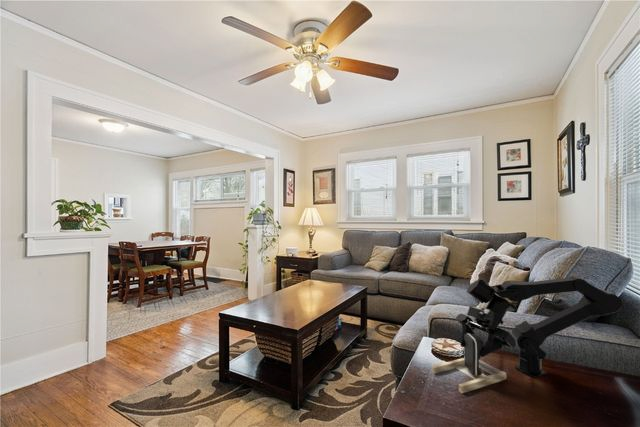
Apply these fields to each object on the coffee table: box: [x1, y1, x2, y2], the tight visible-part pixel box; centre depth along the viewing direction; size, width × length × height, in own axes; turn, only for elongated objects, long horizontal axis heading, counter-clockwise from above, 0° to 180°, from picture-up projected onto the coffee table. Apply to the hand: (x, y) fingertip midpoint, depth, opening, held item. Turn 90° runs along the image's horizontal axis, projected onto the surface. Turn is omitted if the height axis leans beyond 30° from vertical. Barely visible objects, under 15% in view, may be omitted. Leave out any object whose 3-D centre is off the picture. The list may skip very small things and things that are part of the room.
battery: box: [463, 333, 485, 375], centre depth 97 cm, size 7×4×11 cm, turn 178°
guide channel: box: [430, 357, 507, 394], centre depth 96 cm, size 19×12×2 cm, turn 112°
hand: (470, 351), depth 96 cm, fingers closed on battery, 7 cm apart
